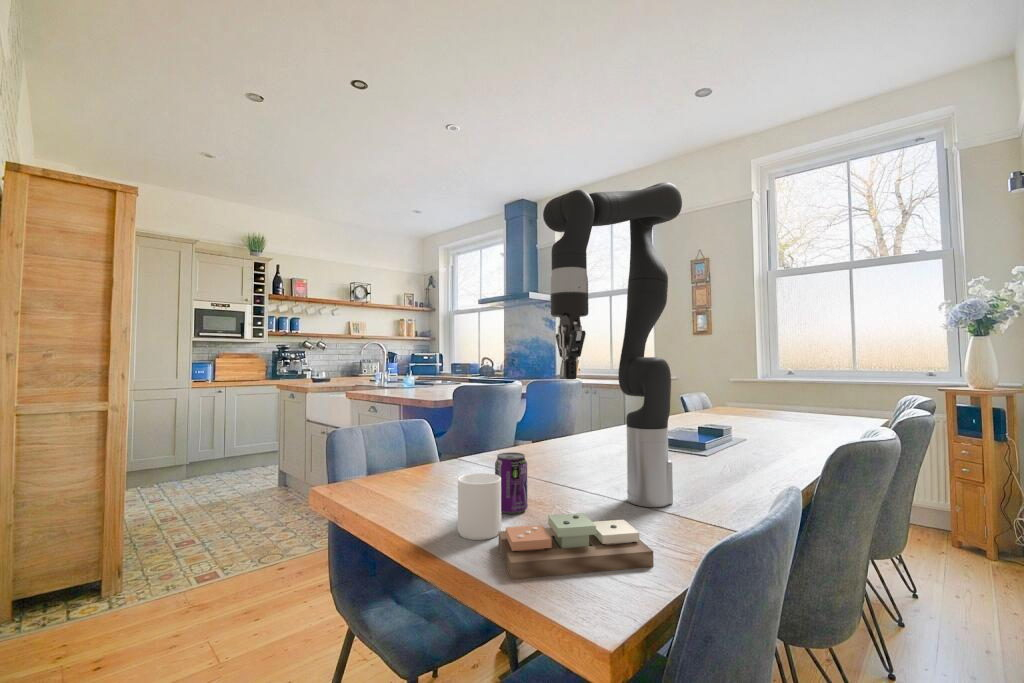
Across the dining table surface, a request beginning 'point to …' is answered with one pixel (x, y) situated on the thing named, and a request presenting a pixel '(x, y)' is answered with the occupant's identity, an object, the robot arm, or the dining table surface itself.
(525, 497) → the beverage can
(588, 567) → the keypad board
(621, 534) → the key one
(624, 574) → the dining table surface
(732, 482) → the dining table surface
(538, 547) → the key three
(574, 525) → the key two
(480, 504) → the mug
